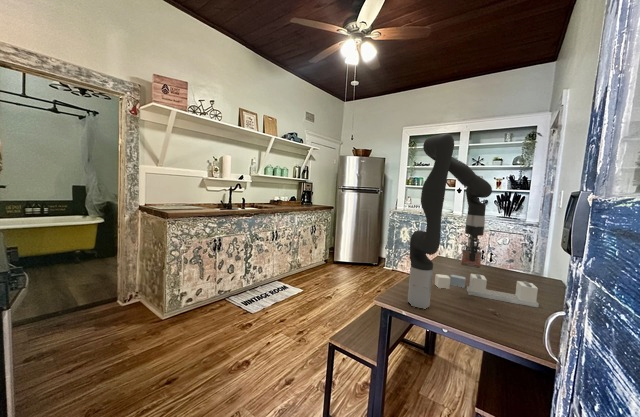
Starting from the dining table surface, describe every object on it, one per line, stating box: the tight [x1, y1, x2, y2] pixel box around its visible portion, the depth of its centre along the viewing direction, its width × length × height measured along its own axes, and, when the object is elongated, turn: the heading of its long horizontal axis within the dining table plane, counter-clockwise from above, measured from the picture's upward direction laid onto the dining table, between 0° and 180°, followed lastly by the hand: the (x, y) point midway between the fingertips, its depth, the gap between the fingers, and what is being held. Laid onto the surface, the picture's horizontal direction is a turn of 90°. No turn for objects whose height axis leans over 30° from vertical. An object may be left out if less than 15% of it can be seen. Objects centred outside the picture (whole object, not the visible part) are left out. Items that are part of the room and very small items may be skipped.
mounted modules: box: [468, 273, 539, 303], centre depth 124 cm, size 7×26×8 cm, turn 67°
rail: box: [466, 285, 540, 308], centre depth 125 cm, size 7×28×2 cm, turn 67°
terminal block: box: [450, 274, 466, 289], centre depth 139 cm, size 4×7×5 cm, turn 57°
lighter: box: [460, 245, 483, 269], centre depth 121 cm, size 8×3×10 cm, turn 62°
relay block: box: [434, 273, 451, 290], centre depth 136 cm, size 5×6×6 cm
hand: (471, 259), depth 121 cm, fingers closed on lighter, 3 cm apart
